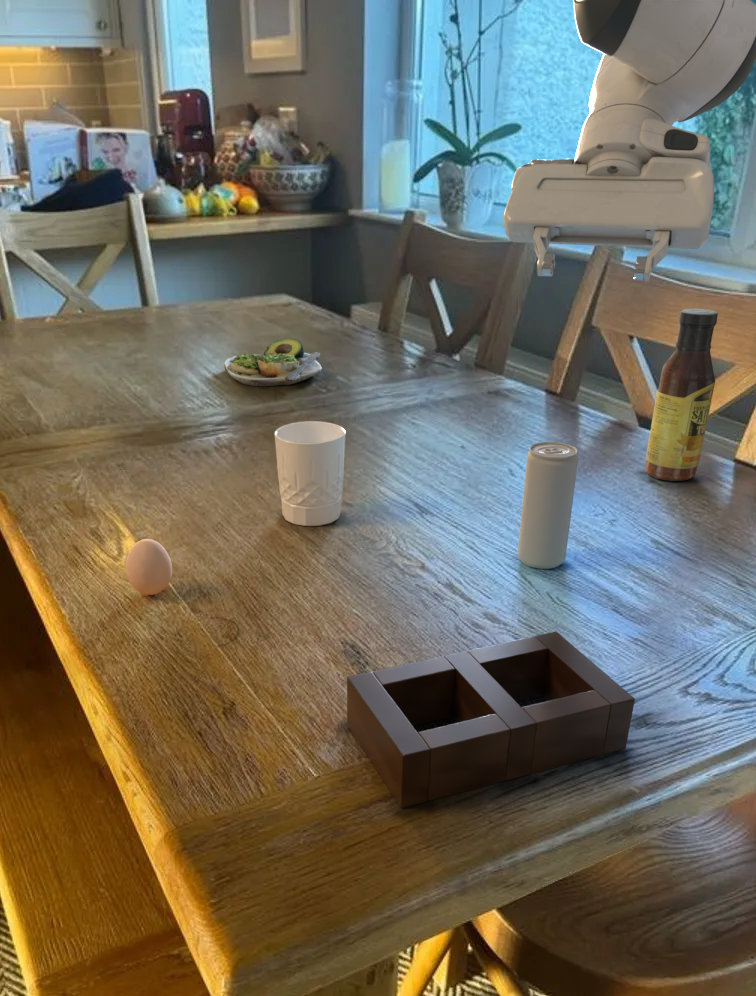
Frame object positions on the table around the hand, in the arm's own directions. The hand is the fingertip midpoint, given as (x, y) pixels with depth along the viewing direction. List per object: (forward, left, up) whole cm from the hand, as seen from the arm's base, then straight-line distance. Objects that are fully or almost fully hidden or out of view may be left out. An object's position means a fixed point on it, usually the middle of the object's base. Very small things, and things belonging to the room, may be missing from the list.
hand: (591, 275), depth 90 cm
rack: (+28, +33, -26) cm, 51 cm away
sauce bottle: (-20, -6, -26) cm, 33 cm away
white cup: (+26, -11, -26) cm, 39 cm away
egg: (+47, +1, -26) cm, 54 cm away
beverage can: (+8, +9, -26) cm, 29 cm away
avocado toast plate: (+11, -73, -26) cm, 78 cm away
